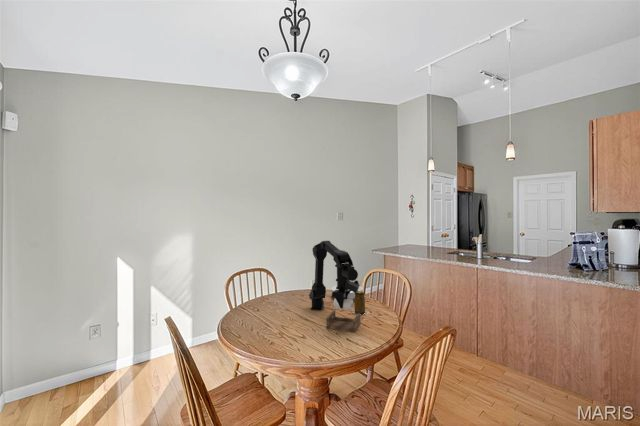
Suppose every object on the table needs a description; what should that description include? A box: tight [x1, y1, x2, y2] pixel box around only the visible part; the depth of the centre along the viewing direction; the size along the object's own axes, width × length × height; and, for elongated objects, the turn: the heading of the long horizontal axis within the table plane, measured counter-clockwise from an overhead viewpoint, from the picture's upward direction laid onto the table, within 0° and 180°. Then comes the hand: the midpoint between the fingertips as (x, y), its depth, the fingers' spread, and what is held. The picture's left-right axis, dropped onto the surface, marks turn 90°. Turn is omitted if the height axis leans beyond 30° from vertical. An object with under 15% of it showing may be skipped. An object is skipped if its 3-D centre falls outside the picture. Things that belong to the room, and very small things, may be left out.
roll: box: [333, 298, 354, 311], centre depth 156 cm, size 9×5×5 cm, turn 69°
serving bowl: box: [331, 285, 364, 300], centre depth 202 cm, size 21×21×7 cm
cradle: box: [325, 310, 361, 333], centre depth 156 cm, size 15×11×6 cm
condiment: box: [351, 291, 370, 317], centre depth 174 cm, size 7×8×12 cm
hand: (343, 306), depth 156 cm, fingers closed on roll, 5 cm apart
